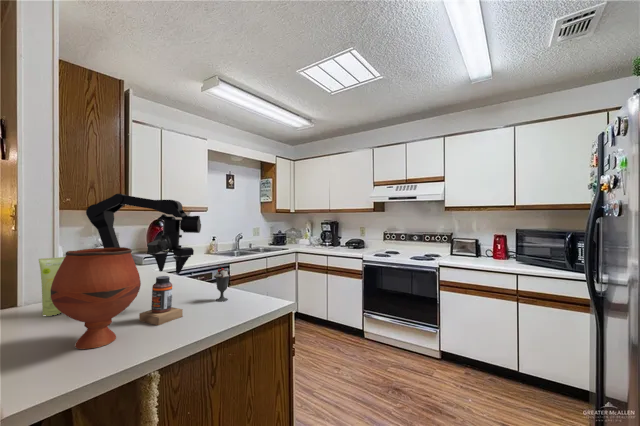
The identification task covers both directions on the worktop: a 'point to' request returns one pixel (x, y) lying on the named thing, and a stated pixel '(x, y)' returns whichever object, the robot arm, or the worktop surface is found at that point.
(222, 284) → the sundae
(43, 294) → the tube
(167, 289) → the supplement bottle
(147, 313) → the pedestal
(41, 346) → the worktop surface
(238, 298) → the worktop surface
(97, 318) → the goblet
